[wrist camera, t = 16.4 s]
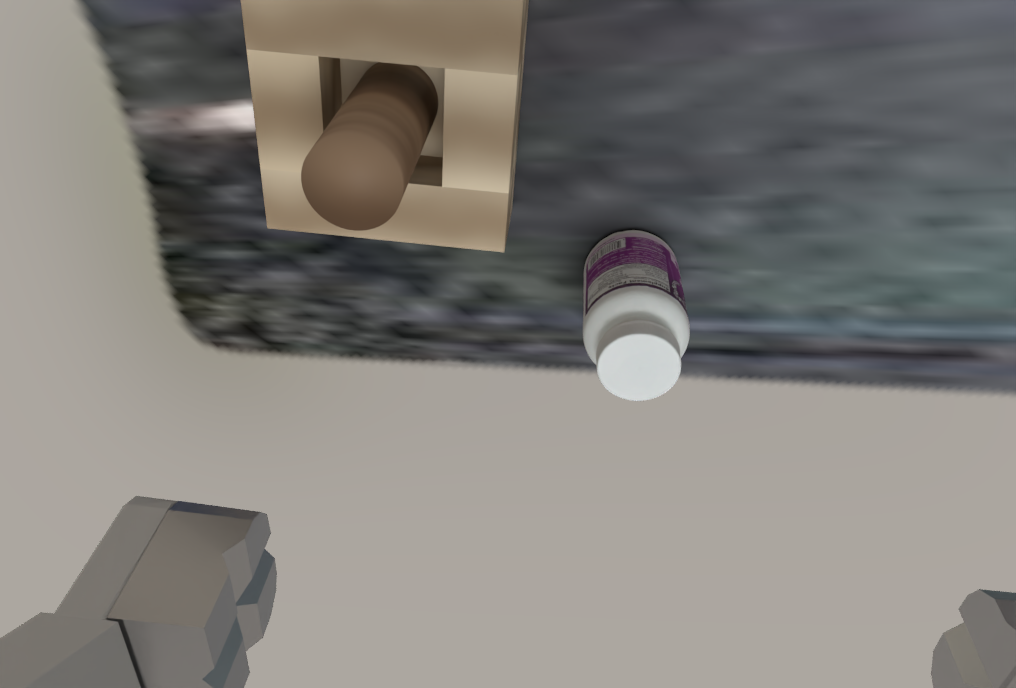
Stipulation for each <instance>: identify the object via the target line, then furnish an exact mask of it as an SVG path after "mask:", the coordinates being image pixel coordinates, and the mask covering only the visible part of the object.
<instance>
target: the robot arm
mask: <svg viewBox="0 0 1016 688" xmlns="http://www.w3.org/2000/svg"><path fill="white" fill-rule="evenodd" d="M270 534H271V532H270V527H269V522H268V517H267V514H265V513H261V512H255V511H249V510H241V509H234V508H226V507H219V506H212V505H204V504H197V503H189V502H182V501H172V500H164V499H156V498H148V497H140V496H136V497H134V498H133V499H132V500H130V501H129V502H128V503H127V504H125V505H124V506H123V507H122V509H121V510H120V512H119V513H118V515H117V517H116V518H115V520H114V521H113V523H112V524H111V526H110V527H109V529H108V531H107V532H106V534H105V535H104V537H103V538H102V540H101V541H100V543H99V545H98V546H97V548H96V549H95V551H94V552H93V554H92V555H91V557H90V559H89V560H88V562H87V563H86V565H85V566H84V568H83V569H82V571H81V573H80V574H79V576H78V577H77V579H76V580H75V582H74V584H73V585H72V587H71V588H70V590H69V591H68V593H67V594H66V596H65V598H64V599H63V601H62V602H61V604H60V605H59V607H58V608H57V610H56V612H55V613H54V614H52V613H39V614H38V615H36V616H35V617H33V618H31V619H30V620H28V621H27V622H25V623H24V624H22V625H21V626H19V627H17V628H16V629H14V630H13V631H11V632H10V633H8V634H6V635H5V636H3V637H2V638H0V688H244V686H245V683H246V681H247V678H248V675H249V673H250V671H249V666H248V661H247V656H246V651H247V650H248V649H249V648H250V647H252V646H253V645H254V644H255V643H257V642H258V641H259V640H260V639H261V638H263V636H264V633H265V630H266V627H267V625H268V622H269V619H270V616H271V612H272V607H273V602H274V598H275V593H276V575H277V572H276V564H275V558H274V557H273V556H272V555H270V554H269V553H268V552H267V551H266V550H265V546H266V544H267V541H268V539H269V536H270ZM959 611H960V613H961V616H962V618H963V620H964V623H962V624H960V625H958V626H956V627H954V628H952V629H950V630H948V631H946V632H944V633H943V635H942V636H941V638H940V640H939V642H938V644H937V645H936V647H935V649H934V651H933V661H932V671H931V675H932V682H933V687H934V688H1016V593H1010V592H1000V591H990V590H980V589H979V590H977V591H975V592H973V593H971V594H969V595H968V596H967V597H966V599H965V600H964V602H963V603H962V605H961V606H960V608H959Z"/></svg>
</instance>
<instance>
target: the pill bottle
mask: <svg viewBox="0 0 1016 688" xmlns="http://www.w3.org/2000/svg"><path fill="white" fill-rule="evenodd" d="M689 336H690V327H689V319H688V315H687V310H686V304H685V299H684V293H683V288H682V282H681V277H680V272H679V267H678V263H677V260H676V257H675V255H674V253H673V251H672V250H671V249H670V247H669V246H668V245H667V244H666V243H665V242H664V241H663V240H662V239H660V238H659V237H657V236H655V235H653V234H650V233H648V232H644V231H638V230H628V231H623V232H616V233H614V234H611V235H609V236H608V237H606V238H604V239H603V240H601V241H600V242H599V243H598V244H597V245H596V246H595V247H594V248H593V249H592V251H591V252H590V253H589V255H588V257H587V259H586V262H585V266H584V282H583V340H584V345H585V348H586V351H587V353H588V355H589V357H590V358H591V360H592V361H593V362H594V363H595V364H596V365H597V374H598V377H599V379H600V381H601V383H602V384H603V386H604V387H605V388H606V389H607V390H608V391H609V392H611V393H612V394H614V395H616V396H618V397H621V398H623V399H627V400H632V401H642V400H648V399H653V398H655V397H658V396H660V395H662V394H664V393H665V392H667V391H668V390H669V389H670V388H672V386H673V385H674V384H675V383H676V381H677V379H678V377H679V375H680V371H681V357H682V356H683V354H684V352H685V350H686V348H687V345H688V342H689Z"/></svg>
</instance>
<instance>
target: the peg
mask: <svg viewBox="0 0 1016 688" xmlns="http://www.w3.org/2000/svg"><path fill="white" fill-rule="evenodd" d="M437 111H438V95H437V91H436V88H435V86H434V84H433V82H432V80H431V79H430V77H429V76H428V75H427V74H426V73H425V72H424V71H423V70H422V69H421V68H420V67H418V66H415V65H404V64H394V63H384V62H378V63H376V64H374V65H373V66H371V67H370V68H369V69H368V70H367V71H366V72H365V74H364V75H363V77H362V78H361V79H360V81H359V82H358V84H357V85H356V87H355V88H354V89H353V91H352V92H351V94H350V95H349V96H348V98H347V99H346V101H345V102H344V103H343V105H342V106H341V108H340V109H339V111H338V112H337V113H336V115H335V116H334V118H333V119H332V120H331V122H330V123H329V125H328V126H327V128H326V129H325V130H324V132H323V133H322V135H321V136H320V137H319V139H318V140H317V142H316V143H315V144H314V146H313V147H312V149H311V150H310V152H309V153H308V155H307V156H306V158H305V160H304V162H303V166H302V170H301V183H302V188H303V191H304V194H305V196H306V199H307V200H308V202H309V204H310V205H311V206H312V208H313V209H314V210H315V211H316V212H317V213H318V214H319V215H320V216H321V217H322V218H323V219H325V220H326V221H328V222H329V223H331V224H333V225H335V226H338V227H340V228H344V229H347V230H354V231H363V230H370V229H374V228H376V227H379V226H381V225H383V224H384V223H386V222H387V221H388V220H389V219H390V218H391V217H392V216H393V215H394V214H395V213H396V211H397V209H398V207H399V205H400V202H401V200H402V197H403V195H404V193H405V190H406V188H407V185H408V183H409V181H410V178H411V176H412V173H413V171H414V168H415V166H416V164H417V161H418V159H419V156H420V154H421V152H422V149H423V147H424V144H425V142H426V140H427V137H428V135H429V132H430V130H431V127H432V125H433V123H434V120H435V118H436V115H437Z"/></svg>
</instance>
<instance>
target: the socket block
mask: <svg viewBox="0 0 1016 688" xmlns="http://www.w3.org/2000/svg"><path fill="white" fill-rule="evenodd" d="M528 3H529V0H241V7H242V15H243V24H244V32H245V41H246V49H247V58H248V66H249V75H250V83H251V92H252V101H253V109H254V118H255V126H256V135H257V143H258V152H259V160H260V169H261V177H262V186H263V195H264V203H265V212H266V220H267V228H271V229H280V230H290V231H300V232H310V233H320V234H329V235H339V236H349V237H359V238H369V239H378V240H388V241H398V242H408V243H418V244H427V245H437V246H447V247H457V248H467V249H476V250H486V251H496V252H504V251H505V245H506V240H507V234H508V229H509V223H510V218H511V212H512V204H513V191H514V179H515V166H516V154H517V141H518V128H519V116H520V103H521V91H522V78H523V65H524V53H525V40H526V28H527V15H528ZM378 62H384V63H394V64H404V65H415V66H418V67H420V68H421V69H422V70H423V71H424V72H425V73H426V74H427V75H428V76H429V77H430V79H431V80H432V82H433V84H434V86H435V88H436V91H437V95H438V111H437V115H436V118H435V120H434V123H433V125H432V127H431V130H430V132H429V135H428V137H427V140H426V142H425V144H424V147H423V149H422V152H421V154H420V156H419V159H418V161H417V164H416V166H415V168H414V171H413V173H412V176H411V178H410V181H409V183H408V185H407V188H406V190H405V193H404V195H403V197H402V200H401V202H400V205H399V207H398V209H397V211H396V213H395V214H394V215H393V216H392V217H391V218H390V219H389V220H388V221H387V222H386V223H384V224H383V225H381V226H379V227H376V228H374V229H370V230H363V231H354V230H347V229H344V228H340V227H338V226H335V225H333V224H331V223H329V222H328V221H326V220H325V219H323V218H322V217H321V216H320V215H319V214H318V213H317V212H316V211H315V210H314V209H313V208H312V206H311V205H310V204H309V202H308V200H307V199H306V196H305V194H304V191H303V188H302V183H301V170H302V166H303V162H304V160H305V158H306V156H307V155H308V153H309V152H310V150H311V149H312V147H313V146H314V144H315V143H316V142H317V140H318V139H319V137H320V136H321V135H322V133H323V132H324V130H325V129H326V128H327V126H328V125H329V123H330V122H331V120H332V119H333V118H334V116H335V115H336V113H337V112H338V111H339V109H340V108H341V106H342V105H343V103H344V102H345V101H346V99H347V98H348V96H349V95H350V94H351V92H352V91H353V89H354V88H355V87H356V85H357V84H358V82H359V81H360V79H361V78H362V77H363V75H364V74H365V72H366V71H367V70H368V69H369V68H370V67H371V66H373V65H374V64H376V63H378Z"/></svg>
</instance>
